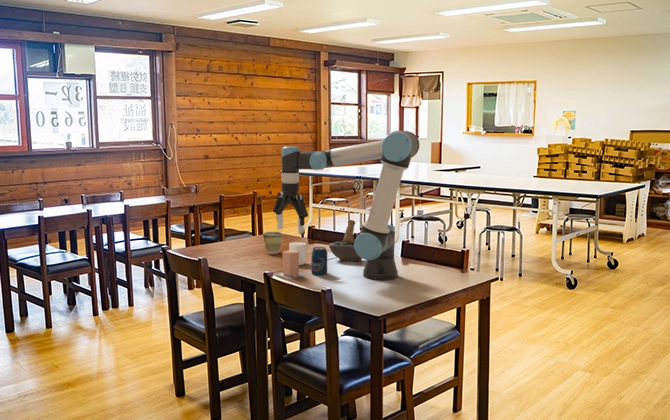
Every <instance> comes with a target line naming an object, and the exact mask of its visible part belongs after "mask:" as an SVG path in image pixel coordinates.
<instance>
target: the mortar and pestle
mask: <svg viewBox="0 0 670 420" xmlns="http://www.w3.org/2000/svg"><path fill="white" fill-rule="evenodd" d="M355 225H356V221H355V220H353V219H349V220H348V221H347V227H346V229H345V233H344V236H343V240H342V241H335V242H331V243H329V244H328V246H329V249H330V251H331V253H332V254H333V256H335V257H336V258H338V259H339V261H341V262H358V261H362V259H363V258H361V257H360V256H358V254H357V253H356V251H355V248H354V242H355V238H354V230H355Z"/></svg>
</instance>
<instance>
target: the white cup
mask: <svg viewBox="0 0 670 420" xmlns="http://www.w3.org/2000/svg"><path fill="white" fill-rule="evenodd" d="M306 246H307V243H305V242H300V241H298V242H296V241H295V242H294V241H293V242H290V243H288V251H290V250H292V251H296V252H299V266H302V265H305V264H306V263H305V262H306V252H307V251H306V250H307V249H306V248H307V247H306Z"/></svg>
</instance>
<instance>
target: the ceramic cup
mask: <svg viewBox="0 0 670 420" xmlns="http://www.w3.org/2000/svg"><path fill="white" fill-rule="evenodd" d="M262 235H263V240H264V241H263V242H264V245H265V251H266V253H267V254H269V255H277V254H279V253H280V251H281V246H282V240H283V236H284V234H283V232H281V231H266V232H263V233H262Z"/></svg>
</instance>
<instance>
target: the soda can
mask: <svg viewBox="0 0 670 420" xmlns="http://www.w3.org/2000/svg"><path fill="white" fill-rule="evenodd" d="M310 260H311V264H310V265H311V268H310V269H311V270H310V271H311V274H312V275H313V276H325V275H327V274H328V251H327V248H326V247H325V246H324V247H323V246H316V247H312V250H311V259H310Z"/></svg>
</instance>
